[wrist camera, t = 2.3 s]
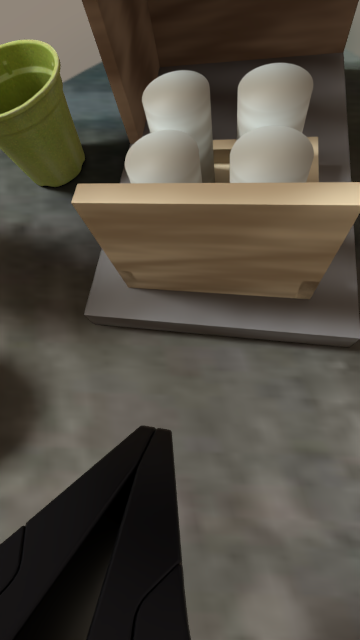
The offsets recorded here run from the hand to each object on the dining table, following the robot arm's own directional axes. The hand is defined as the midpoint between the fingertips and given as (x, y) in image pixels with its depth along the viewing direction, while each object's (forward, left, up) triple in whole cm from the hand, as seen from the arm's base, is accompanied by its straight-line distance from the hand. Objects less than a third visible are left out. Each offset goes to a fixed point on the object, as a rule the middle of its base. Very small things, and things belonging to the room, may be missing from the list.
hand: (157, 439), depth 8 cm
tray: (+16, 0, -11) cm, 19 cm away
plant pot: (+24, +18, -13) cm, 33 cm away
